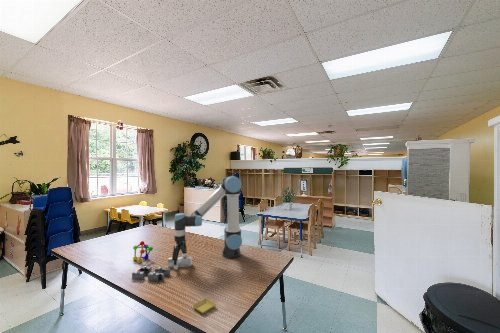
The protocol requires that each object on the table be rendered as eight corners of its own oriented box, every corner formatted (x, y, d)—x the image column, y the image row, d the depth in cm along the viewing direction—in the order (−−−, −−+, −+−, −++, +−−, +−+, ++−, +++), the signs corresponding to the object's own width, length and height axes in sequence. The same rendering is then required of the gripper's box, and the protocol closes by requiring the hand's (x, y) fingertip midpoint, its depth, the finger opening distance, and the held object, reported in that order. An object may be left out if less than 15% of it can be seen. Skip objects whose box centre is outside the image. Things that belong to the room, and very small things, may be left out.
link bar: (191, 264, 161) (191, 256, 161) (190, 266, 158) (190, 258, 158) (169, 265, 160) (169, 257, 160) (167, 267, 156) (167, 259, 157)
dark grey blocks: (171, 274, 146) (171, 267, 146) (162, 281, 136) (162, 274, 136) (142, 272, 149) (142, 265, 149) (132, 279, 139) (132, 271, 139)
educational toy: (155, 260, 172) (156, 241, 172) (140, 266, 161) (141, 246, 161) (143, 254, 180) (144, 236, 179) (127, 260, 169) (128, 240, 168)
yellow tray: (202, 316, 104) (202, 312, 104) (191, 309, 110) (191, 305, 110) (216, 308, 110) (216, 304, 110) (206, 301, 116) (206, 297, 116)
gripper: (182, 230, 171) (182, 258, 171) (166, 239, 148) (166, 272, 148) (191, 231, 170) (191, 259, 170) (177, 240, 147) (176, 273, 147)
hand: (179, 265), depth 159 cm, fingers open, 11 cm apart
